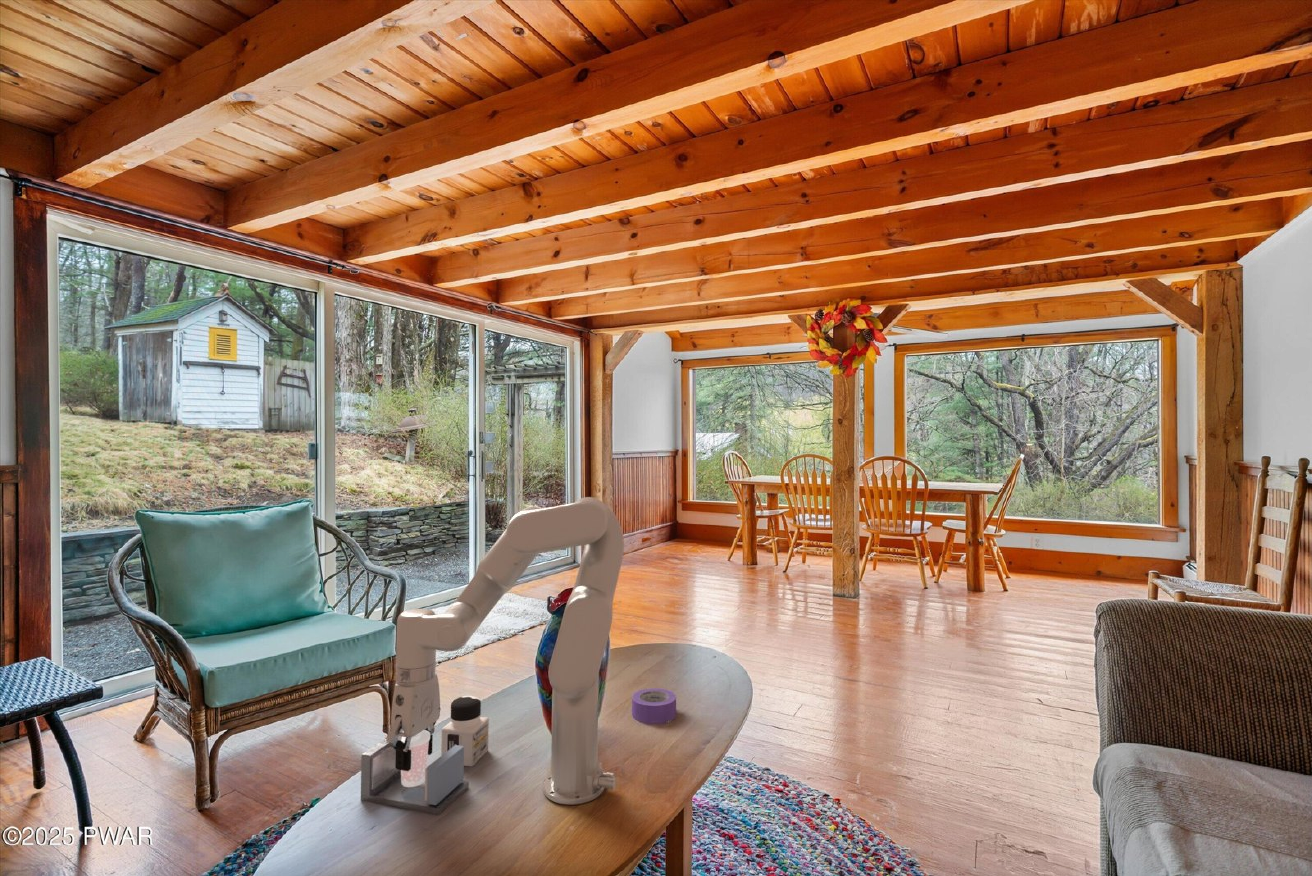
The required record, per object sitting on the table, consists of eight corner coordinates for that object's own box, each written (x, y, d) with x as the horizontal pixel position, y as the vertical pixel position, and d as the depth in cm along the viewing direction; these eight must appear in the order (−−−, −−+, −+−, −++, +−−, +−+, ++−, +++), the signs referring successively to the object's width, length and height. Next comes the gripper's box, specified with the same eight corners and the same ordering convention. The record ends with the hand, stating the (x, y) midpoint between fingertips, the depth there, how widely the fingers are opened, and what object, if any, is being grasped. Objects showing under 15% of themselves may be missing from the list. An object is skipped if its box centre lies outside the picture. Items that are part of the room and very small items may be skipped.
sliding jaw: (463, 780, 126) (463, 746, 126) (435, 805, 117) (436, 768, 117) (452, 778, 127) (453, 744, 127) (424, 803, 118) (425, 766, 118)
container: (472, 767, 134) (473, 707, 135) (440, 763, 136) (441, 704, 136) (488, 750, 142) (489, 694, 142) (458, 747, 144) (459, 691, 144)
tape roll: (623, 717, 161) (623, 698, 161) (648, 702, 170) (648, 684, 170) (660, 729, 154) (660, 709, 154) (684, 713, 164) (684, 694, 164)
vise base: (468, 787, 126) (469, 743, 126) (438, 815, 117) (439, 767, 117) (394, 774, 131) (395, 732, 131) (360, 800, 121) (361, 754, 122)
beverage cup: (397, 776, 126) (399, 707, 126) (429, 770, 128) (430, 703, 128) (396, 791, 120) (398, 719, 120) (429, 785, 122) (431, 715, 123)
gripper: (403, 689, 115) (401, 786, 115) (456, 660, 132) (455, 744, 131) (370, 685, 117) (368, 780, 117) (426, 656, 134) (425, 739, 133)
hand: (414, 760), depth 124 cm, fingers closed on beverage cup, 6 cm apart
